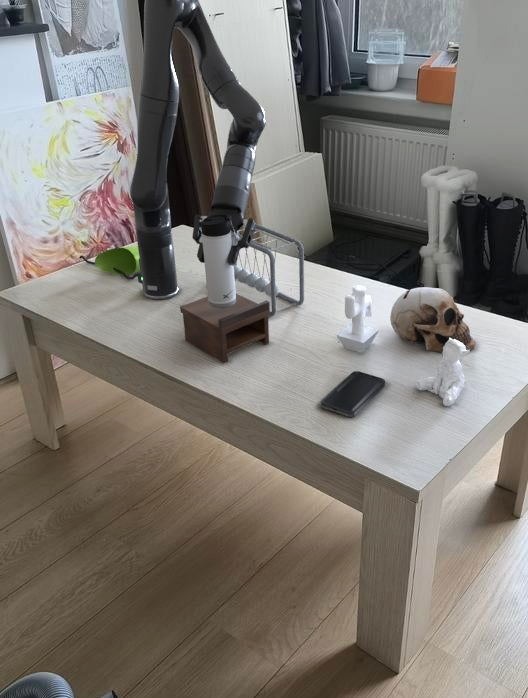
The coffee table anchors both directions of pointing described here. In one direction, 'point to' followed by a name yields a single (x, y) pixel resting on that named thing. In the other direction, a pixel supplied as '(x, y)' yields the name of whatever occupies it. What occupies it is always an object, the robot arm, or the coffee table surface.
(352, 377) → the phone
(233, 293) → the travel mug
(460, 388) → the white creature statuette
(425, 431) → the coffee table surface
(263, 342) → the brown wooden stand
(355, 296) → the figurine
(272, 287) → the newton's cradle
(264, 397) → the coffee table surface
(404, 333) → the coin bank
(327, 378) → the coffee table surface
